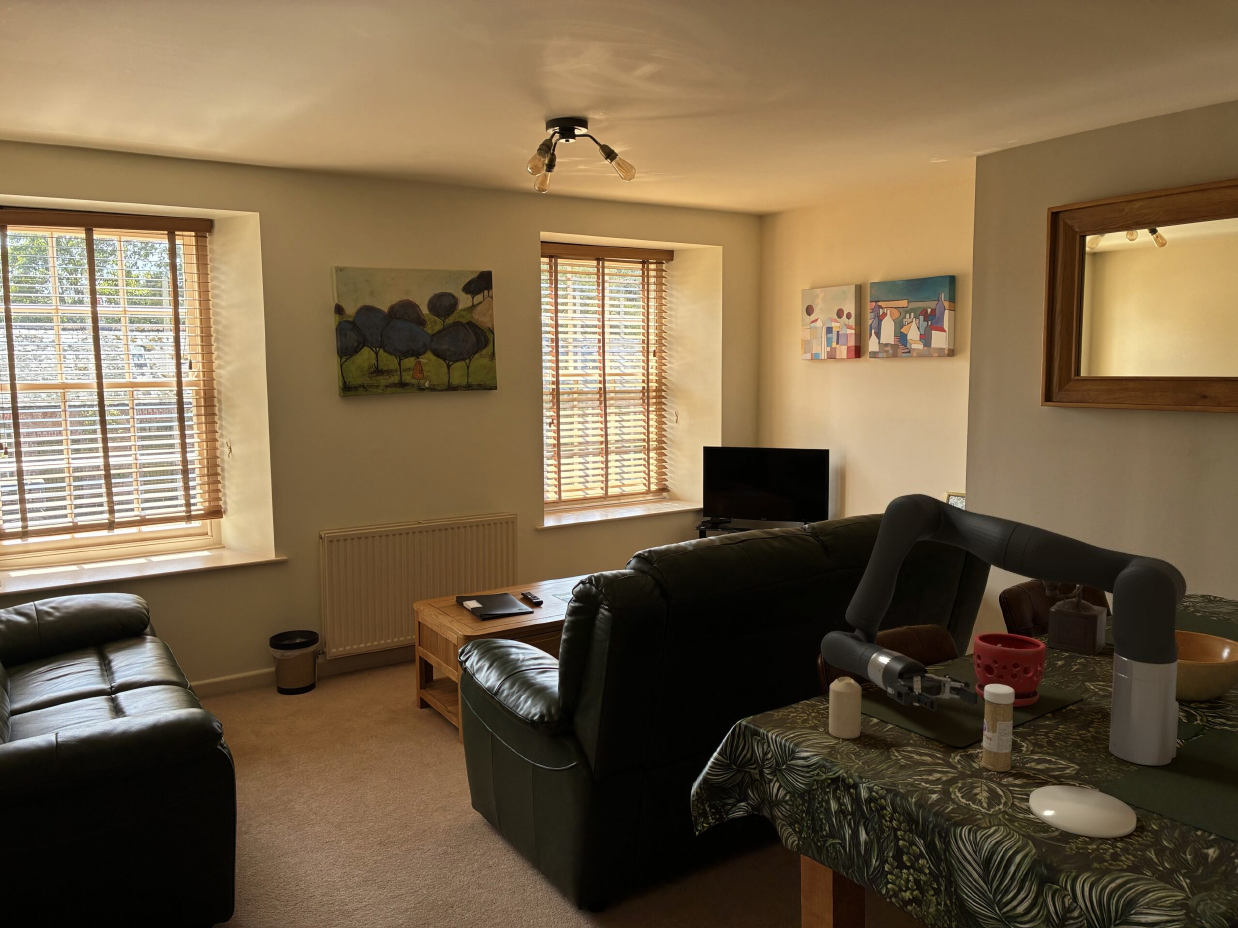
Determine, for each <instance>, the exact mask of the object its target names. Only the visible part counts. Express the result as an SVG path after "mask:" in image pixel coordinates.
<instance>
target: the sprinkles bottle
mask: <svg viewBox="0 0 1238 928" xmlns="http://www.w3.org/2000/svg"><path fill="white" fill-rule="evenodd" d="M1014 694H1015V692H1014V689H1012V688H1011V687H1009V686H1006V685H1001V684H989V685H986V686H985V689H984V698H985V699H984V698H983V699H984V719H983V734H982V735H983V737H982V759H981V766H983V768H984V769H987V770H990V771H993V772H1007V771H1009V770H1011V768H1012V765H1011V752H1012V744H1013V743H1012V741H1013V723H1014V720H1013V711H1014V710H1013V709H1014V706H1013V703H1014Z"/></svg>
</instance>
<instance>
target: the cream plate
mask: <svg viewBox="0 0 1238 928" xmlns="http://www.w3.org/2000/svg"><path fill="white" fill-rule="evenodd" d="M1028 803H1029V809H1030V811H1031V812H1032V813H1033V815H1034V816H1036V817H1037V818H1038V819H1040V821H1042V822H1044V823H1046V824H1048V825H1049V826H1051V827H1054V828H1057V829H1058V830H1061V831H1065V832H1067V833H1070V834H1074V835H1079V836H1084V837H1088V838H1089V837H1090V838H1091V837H1092V838H1102V839H1111V838H1119V837H1124V836H1128V835H1129V834H1131V833H1133V832H1134V831H1135V830H1136V827H1137V815H1136V812H1135V811H1134V810H1133V809H1132V808H1131V807H1130V806H1129V805H1128V804H1127V803H1125V802H1124V801H1122V800H1120V799H1118V798H1116V797H1114V796H1112V795H1109V794H1106V793H1104V792H1101V791H1097V790H1094V789H1090V788H1086V787H1081V786H1074V785H1061V784H1060V785H1047V786H1042V787H1039V788H1036V789H1035V790H1033V791H1032V792H1031V793H1030V795H1029V802H1028Z"/></svg>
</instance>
